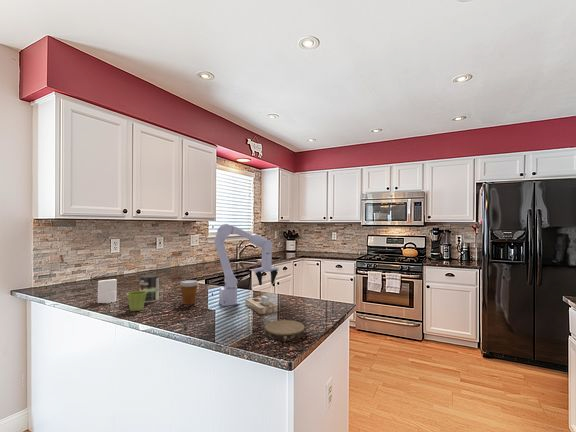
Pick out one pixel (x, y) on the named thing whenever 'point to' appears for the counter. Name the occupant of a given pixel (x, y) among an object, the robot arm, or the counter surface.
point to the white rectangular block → (107, 291)
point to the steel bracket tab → (264, 301)
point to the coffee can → (150, 287)
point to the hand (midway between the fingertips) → (266, 284)
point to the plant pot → (136, 300)
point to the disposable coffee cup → (189, 291)
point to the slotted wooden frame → (260, 306)
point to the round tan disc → (284, 330)
